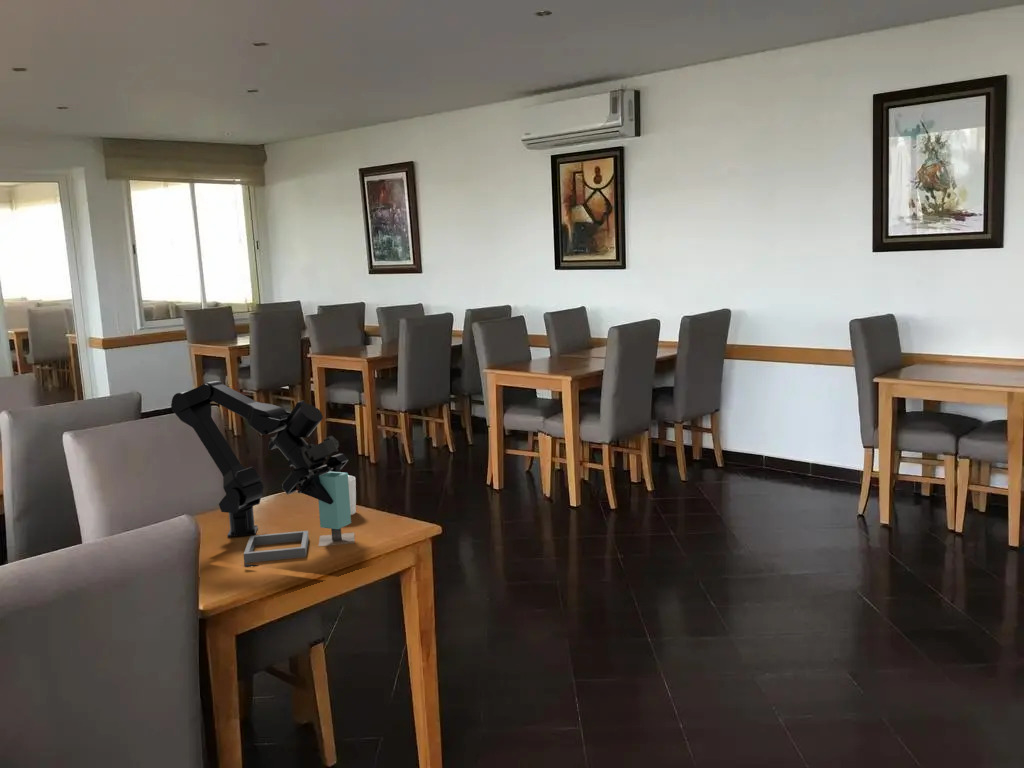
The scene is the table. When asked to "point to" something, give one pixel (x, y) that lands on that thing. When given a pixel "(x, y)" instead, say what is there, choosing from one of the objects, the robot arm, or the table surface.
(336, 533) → the grey plate with post
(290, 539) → the tray
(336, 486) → the sleeve
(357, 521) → the table surface
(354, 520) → the table surface
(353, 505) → the white cup
